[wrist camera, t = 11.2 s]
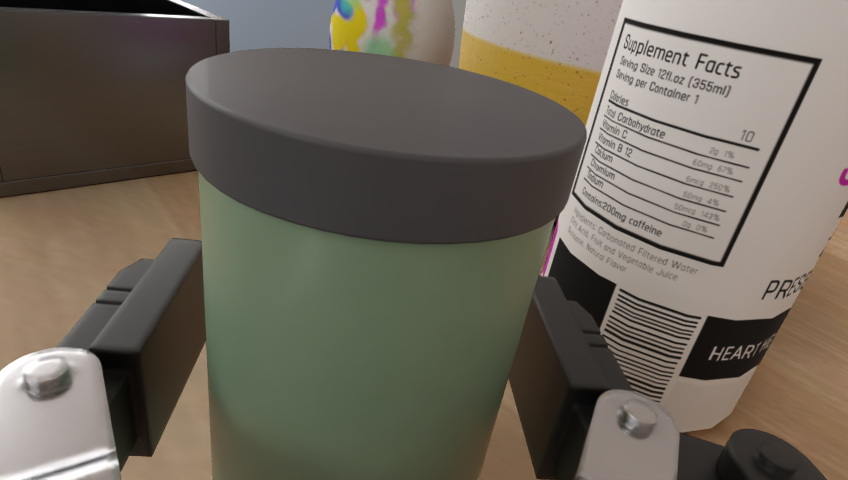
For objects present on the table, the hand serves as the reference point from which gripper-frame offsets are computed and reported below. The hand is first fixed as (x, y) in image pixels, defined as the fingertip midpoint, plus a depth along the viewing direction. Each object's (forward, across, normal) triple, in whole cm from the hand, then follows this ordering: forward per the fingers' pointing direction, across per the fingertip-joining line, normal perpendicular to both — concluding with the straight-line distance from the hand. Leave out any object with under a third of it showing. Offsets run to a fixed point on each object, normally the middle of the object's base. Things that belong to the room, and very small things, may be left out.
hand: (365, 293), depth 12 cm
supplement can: (+7, -11, +7) cm, 15 cm away
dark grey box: (+25, +18, +7) cm, 31 cm away
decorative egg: (+47, -1, +7) cm, 47 cm away
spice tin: (-2, 0, +7) cm, 7 cm away
